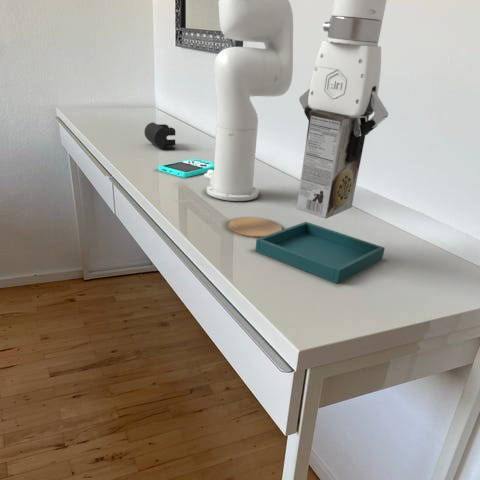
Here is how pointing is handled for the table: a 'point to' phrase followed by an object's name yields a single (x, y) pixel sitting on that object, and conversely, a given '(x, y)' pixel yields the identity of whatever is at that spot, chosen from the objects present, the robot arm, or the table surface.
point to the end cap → (160, 135)
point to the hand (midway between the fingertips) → (333, 154)
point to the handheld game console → (187, 167)
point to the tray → (320, 251)
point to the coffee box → (327, 166)
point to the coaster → (254, 227)
